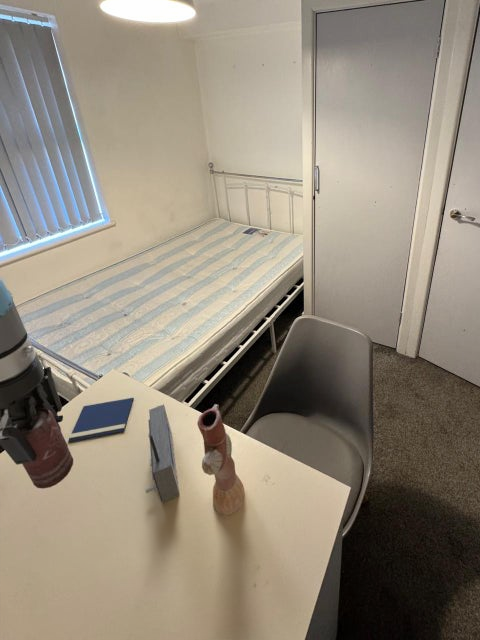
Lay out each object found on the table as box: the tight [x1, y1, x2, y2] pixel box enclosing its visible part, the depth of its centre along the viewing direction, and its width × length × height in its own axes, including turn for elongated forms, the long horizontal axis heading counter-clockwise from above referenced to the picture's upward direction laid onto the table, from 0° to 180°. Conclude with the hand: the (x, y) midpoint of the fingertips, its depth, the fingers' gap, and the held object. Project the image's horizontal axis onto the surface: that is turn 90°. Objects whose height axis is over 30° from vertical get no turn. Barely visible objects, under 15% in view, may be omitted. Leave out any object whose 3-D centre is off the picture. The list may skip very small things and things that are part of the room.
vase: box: [196, 403, 245, 516], centre depth 68 cm, size 10×7×30 cm
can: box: [21, 407, 74, 489], centre depth 57 cm, size 6×6×14 cm
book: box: [67, 397, 135, 443], centre depth 93 cm, size 14×11×1 cm
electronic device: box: [145, 404, 180, 503], centre depth 77 cm, size 17×7×20 cm, turn 26°
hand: (54, 459), depth 60 cm, fingers open, 3 cm apart
